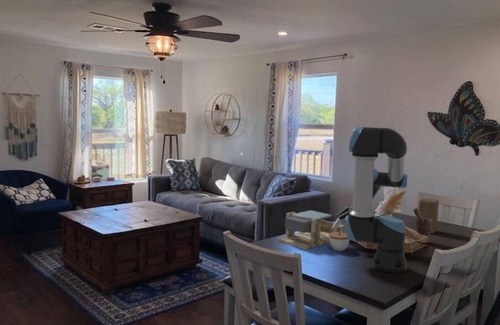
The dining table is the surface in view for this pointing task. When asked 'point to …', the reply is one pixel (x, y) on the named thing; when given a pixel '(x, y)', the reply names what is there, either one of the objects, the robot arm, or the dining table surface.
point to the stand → (311, 234)
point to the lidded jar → (338, 241)
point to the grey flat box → (303, 220)
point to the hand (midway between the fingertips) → (343, 231)
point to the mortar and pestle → (422, 224)
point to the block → (429, 211)
